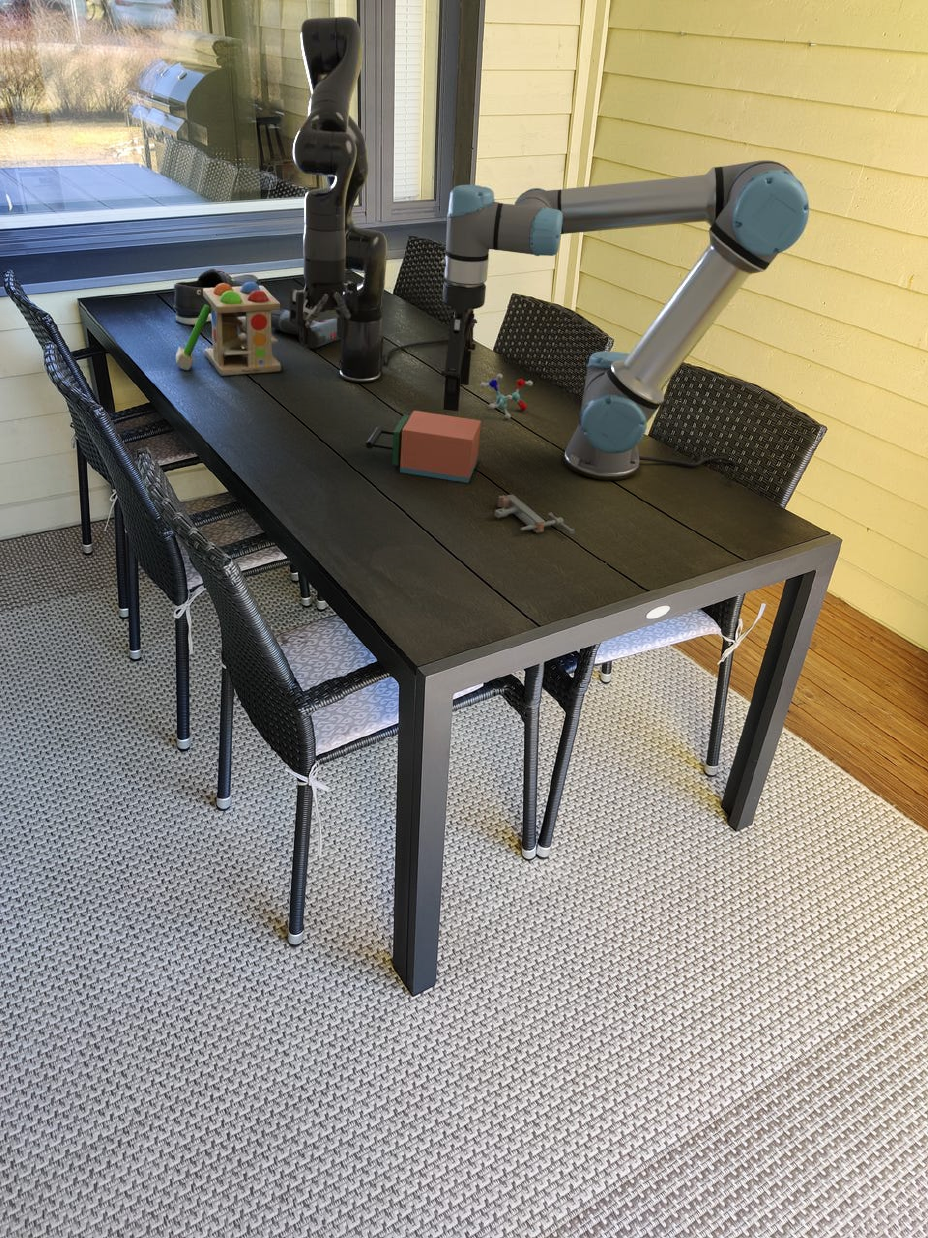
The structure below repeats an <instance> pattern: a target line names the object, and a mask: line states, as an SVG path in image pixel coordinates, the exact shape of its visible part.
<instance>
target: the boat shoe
mask: <svg viewBox="0 0 928 1238" xmlns="http://www.w3.org/2000/svg"><path fill="white" fill-rule="evenodd" d="M247 282H254V283H256V284H257V285H258V286H262V283H261V281H260V280H259V278H258V277H257V276H256V275H254V274H241V275H237V276H233V277H232V276H230V274H228V273H227V272H225V271H222V270H218V269H214V268H210V269H207V270H205V271H204V272H202V273H201V274H200V275H199V276H198V278H197V280H191V281H179V282H175V283H174V284H173V289H174V305H173V309H174V310H175V311H176V312H175V320H176V321H177V322H179V323H180V324H184V325H195V324H196V322H197V320H198V318H199V316H200V314H201V311H202V309H203V307H204V305H208V306H210V307H211V305H210V304H209V302H208V301H207V300H206V299H205V297H204V296H203V289H204V288H215V287H216V286H217V285H218V284H221V283H226V284H228V285H230V286H231V287H242V286H243V285H244V284H245V283H247ZM209 314H211V310H210V312H209ZM207 322H211V321H210V320H209V318H207V320H206V322H205V323H207Z"/></svg>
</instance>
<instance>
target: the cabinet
mask: <svg viewBox="0 0 928 1238" xmlns="http://www.w3.org/2000/svg"><path fill="white" fill-rule="evenodd" d="M409 416H410V418H409V420H408V421H407V423H406V424H405V426H404V428H403V429H402V444H401V461H400V463H399V472H400V473H403V474H408V475H409V474H410V475H416V476H422V477H428V478H436V479H439V480H440V479H442V480H447V481H454V482H460V483H467V484H469V482H470V480H471V478H472V475H473V473H474V471H475V468H476V466H477V463H478V457H479V446H480V437H481V428H482V427H481V425H482V420H479V419H472V418H467V417H461V416H453V415H447V414H440V413H434V412H426V411H419V410H413V411H412V412H411V414H410V415H409Z"/></svg>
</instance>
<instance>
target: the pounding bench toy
mask: <svg viewBox="0 0 928 1238" xmlns="http://www.w3.org/2000/svg"><path fill="white" fill-rule="evenodd" d="M203 296H204V297H205V299H206V300H207V301H208V302H209V304H210V305H211V307H210V306H208V305H204V307H203V309H202V311H201V314H200V316H199V318H198V320H197V322H196V324H194V327H193V329H192V331H191V332H190V333H191V334H190V336H189V338H188V340H187V343H186V344H185V347H184V348H182V347H180V346H179V347H178V349H177V351H176V354H175V357H174V358H175V362H176V365H177V366H178V368H179V369H182V370H185V371H189V370H190V369H191V367H192V365H193V363H194V356H193V351H194V348H195V347H196V345H197V342H198V340H199V337H200V336H201V333H202V332H203V329H204V326H205V325H206V323H207V322H206V320H207V318H209V320H210V321H209V322H211V336H212V337H211V338H212V339H211V340H212V348H205V349H204V352H205V353H204V355H205V357H206V359H208V361H209V363H210V364H211V365H212V366H213V367H214V369H215V370H216V371H217V372H218V374H219V375H220V376H222V377H223V376H234V375H235V376H236V375H246V374H247V375H250V374H262V373H275V372H281V370H282V364H281V363H280V362H279V360H278V359H277V358H276V357H275V356H274V355H273V348H272V347H273V345H272V344H276V343H278V342H279V341H278V339H277V338H276V337H275V336H274V334H272V327H271V310H280V309H281V304H280V301H278V300H277V299H276V297H274V296H273V295H272V294H271V293H270V292H269V290H268V289H267V288H266V287H264V285H261V286H258V285H257V284H256V283H254V282H247V283H245V284H244V285H243V286H242V287H231V286H230V285H228V284H226V283H221V284H218V285H217V286H216V287H215V288H204V289H203ZM210 310H211V314H209V312H210ZM238 313H244V314H245V315H244V316H238ZM238 329H239V331H240V333H239V334H238Z"/></svg>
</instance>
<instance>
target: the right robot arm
mask: <svg viewBox="0 0 928 1238" xmlns="http://www.w3.org/2000/svg"><path fill="white" fill-rule="evenodd" d="M495 200H496V199H495V193H494V191H493V189H491V188H490V187H487V186H482V185H478V184H477V185H476V184H460V185H456V186H454V187H453V188H452V189H451V190H450V192H449V201H448V202H449V203H448V209H447V210H448V211H447V214H446V217H447V220H446V238H445V259H444V258H443V259H442V260H441V264H442V266H445V267H444V274H443V275H444V276H443V277H444V279H445V280H444V281H443V285H442V303H444V304H445V305H446V306H448V307H451V308H453V309H454V310H452V312H451V313H452V314H450V317H449V332H448V338H449V341H447V351H446V358H445V367H444V370H441V376H442V377H445V378H444V392H443V393H444V394H443V406H442V408H443V409H442V410H443V411H449V412H451V411H452V412H459V410H460V409H459V408H460V397H461V385H462V386H464V385H465V386H469V384H470V373H471V372H470V371H471V370H470V369H471V359H472V351H476V344H475V343H474V328H473V322H474V319H475V312H474V311H475V310H476V309H480V308H482V307H483V306H484V305H485V303H486V291H487V285H486V283H487V281H488V273H489V262H490V261H489V260H490V258H489V256H490V253H489V252H490V250H494V251H502V252H509V253H516V254H523V255H524V254H525V255H533V256H535V257H540V256H543V257H544V256H546V257H552V256H556V255H557V254H558V253H559V249H560V245H561V244H560V243H561V236H562V235H567V234H578V233H589V232H601V231H612V230H622V229H634V228H636V229H637V228H646V227H656V226H657V227H658V226H669V225H680V224H693V223H702V222H703V223H704V222H705V223H707V224H708V225H709V226H710V227H709V229H708V235H709V243H708V245H707V247H706V248H705V250H704V251H703V252H702V253H701V255H700V256H699V258H698V259H697V260H696V261H695V263H694V265H693V266H692V267H691V269H690V270H689V271H688V272H687V274H686V275H685V277H684V278H683V279H682V281H681V282H680V284H679V285H678V286H677V288H676V289H675V290H674V292H673V293H672V294H671V296H670V297H669V298H668V300H667V301H666V303H665V304H664V306H663V307H662V308H661V310H660V311H659V313H658V314H657V315H656V316H655V318H654V319H653V321H652V322H651V323H650V325H649V326H648V327H647V329H646V330H645V332H644V333H643V335H642V336H641V337H640V338H639V340H638V342H636V344H635V345H634V347H633V349H631V350H630V352H629V353H626V352H620V351H605V350H604V351H596V352H594V353H592V354H591V355H590V356H589V359H588V363H587V365H586V369H587V370H586V376H585V381H584V388H583V395H582V401H581V407H580V413H579V419H578V420H579V421H578V425H577V427H576V429H575V431H574V433H573V434H572V436H571V438H570V441H569V442H568V444H567V446H566V449H565V452H564V459H563V461H564V465H566V466H567V468H569V469H570V470H571V471H573V472H574V473H577V474H578V475H581V476H584V477H586V478H590V479H593V480H600V481H622V480H627V479H629V478H632V477H634V476H635V475H637V473H638V470H639V466H640V461H647V462H656V463H665V464H672V465H673V464H674V465H678V466H683V467H689V468H695V467H699V466H701V464H703V463H706V462H713V461H725V462H728V463H729V464H731V465H732V466H737V463H736V461H734V460H733V459H732V460H728V458H729V457H728V458H727V456H721V455H720V456H710V457H703V458H701V459H700V460H698V461H696V462H685V461H681V460H678V459H677V460H676V459H670V458H662V457H661V458H660V457H652V456H651V457H650V456H643V455H641V456H640V455H639V447H638V444H639V443H641V441H642V440H643V438H644V436H645V434H646V430H647V428H648V424H647V423H648V422H650V420H651V418H652V417H653V416H654V414H655V413H656V412H657V411H658V410H659V408H660V406H661V405H662V404H663V403H664V402H665V395H664V388H665V387H666V385H667V384H668V383H669V381H670V380H671V379H672V377H673V376H674V375H675V373H676V372H677V370H679V368H680V367H681V366H682V365H683V363H684V362H685V360H686V359H687V358H688V356H689V355H690V354H691V353H692V351H694V349H695V347H696V346H697V345H698V344H699V342H700V341H701V340H702V338H703V337H704V336H705V334H706V333H707V332H708V331H709V329H710V328H711V327H712V326H713V325H714V323H715V322H716V320H717V319H718V317H719V316H720V315H721V314H722V312H723V311H724V310H725V308H726V307H727V306H728V305H729V303H730V302H731V301H732V299H733V298H734V297H735V296H736V294H737V293H738V291H739V290H740V289H741V287H742V286H743V285H744V284H745V283H746V282H747V280H748V278H749V277H750V276H752V275H754V274H757V273H763V272H765V271H766V270H767V269H768V268H769V266H771V263H773V261H774V260H775V259H776V257H777V256H778V255H779V254H780V253H783V252H785V251H787V250H788V249H790V248H791V247H792V246H793V245H795V244H796V243H797V241H799V240H800V238H801V236H803V233H804V231H805V229H806V227H807V224H808V222H809V216H810V203H809V196H808V193H807V190H806V188H805V186H804V185H803V183H802V182H801V181H800V180H799V179H798V178H797V177H796V176H795V175H794V173H793V172H792V171H791V170H790V169H789V168H788V167H787V166H786V165H784V164H782V163H781V162H778V161H775V160H765V159H764V160H757V161H756V160H754V161H748V162H743V163H737V164H730V165H723V166H715V167H711V168H710V169H709V170H708V171H707V172H706V173H705V174H699V175H689V176H678V177H670V178H667V177H666V178H660V179H659V178H657V179H649V180H640V181H630V182H629V181H628V182H618V183H608V184H598V185H589V186H580V187H579V186H578V187H569V188H561V189H549V190H546V189H544V188H540V187H533V188H529V189H527V190H525V191H524V192H522V193H521V194H520V195H519V196H518V198H517V199H516V200H515V202H514V204H513V203H502V202H499V201H495Z"/></svg>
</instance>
